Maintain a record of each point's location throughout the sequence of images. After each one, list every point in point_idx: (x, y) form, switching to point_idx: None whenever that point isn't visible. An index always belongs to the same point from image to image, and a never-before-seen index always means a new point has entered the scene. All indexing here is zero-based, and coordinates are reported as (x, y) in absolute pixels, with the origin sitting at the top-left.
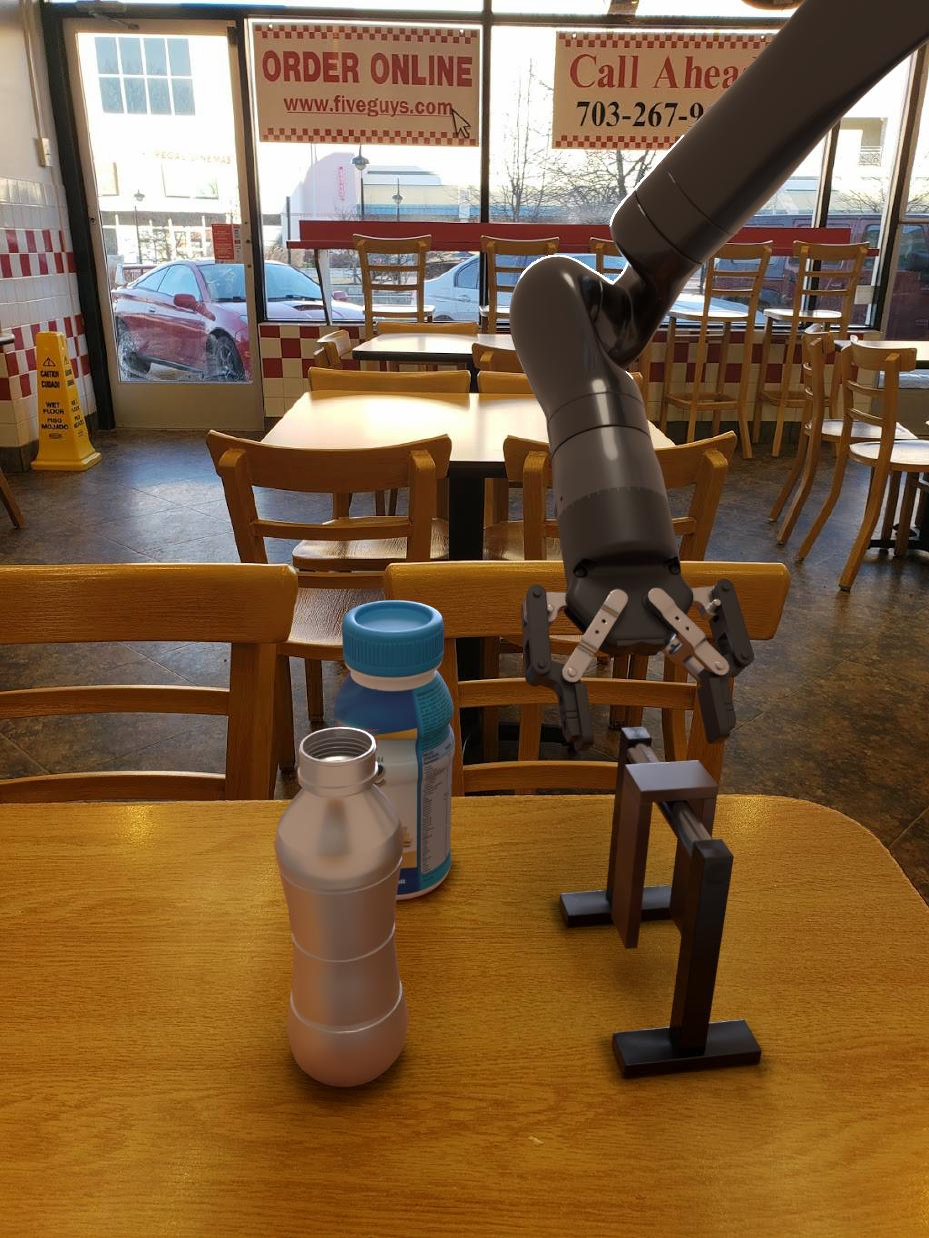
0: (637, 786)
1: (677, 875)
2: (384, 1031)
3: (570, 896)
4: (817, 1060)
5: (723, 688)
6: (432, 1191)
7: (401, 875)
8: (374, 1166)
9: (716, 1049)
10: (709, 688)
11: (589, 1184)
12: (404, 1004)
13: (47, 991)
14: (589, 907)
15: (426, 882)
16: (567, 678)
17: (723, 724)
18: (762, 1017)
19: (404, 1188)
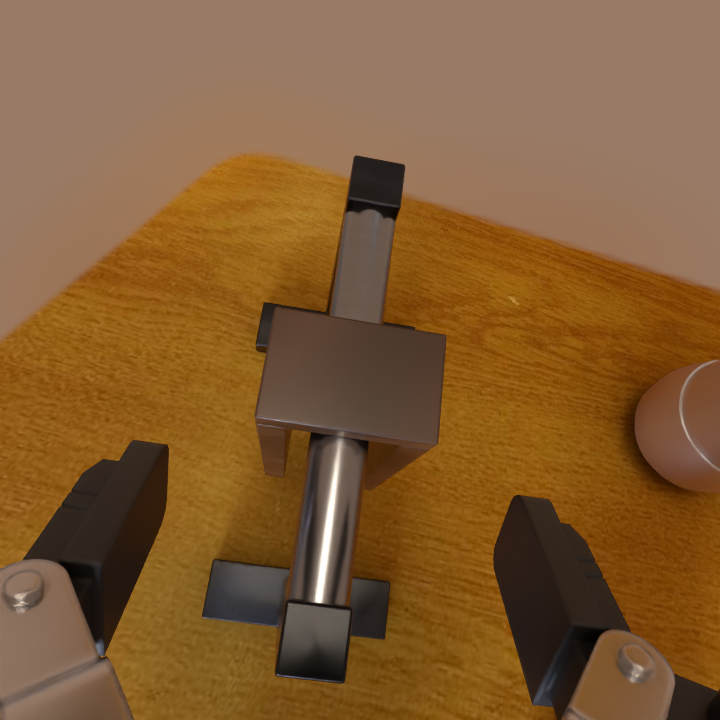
0: (444, 355)
1: (287, 448)
2: (689, 367)
3: (371, 627)
4: (200, 296)
5: (56, 549)
6: (606, 283)
7: None
8: (651, 317)
9: None
10: (115, 549)
11: (481, 251)
12: (666, 400)
13: None
14: (352, 592)
15: None
16: (645, 642)
17: (143, 453)
18: (219, 363)
19: (628, 292)
